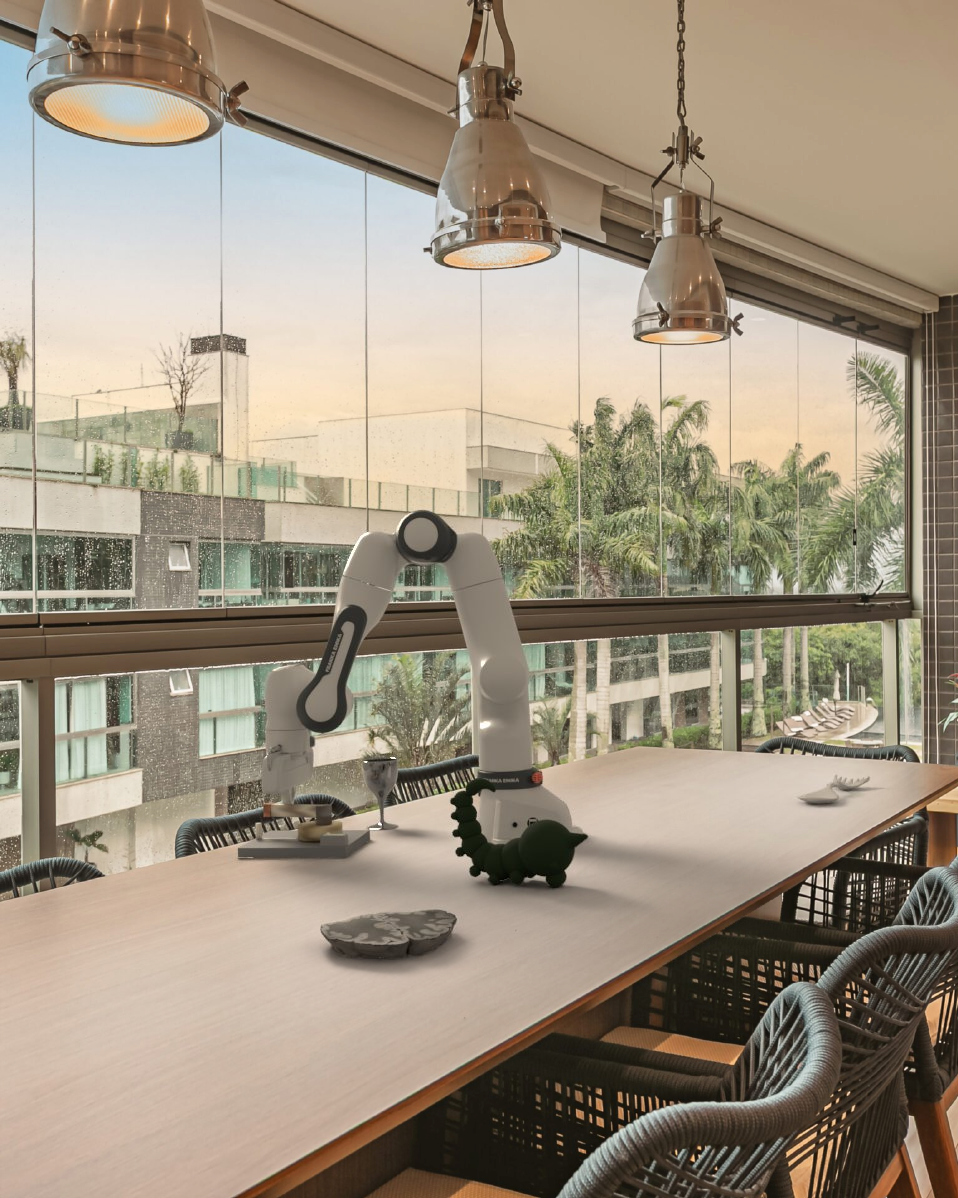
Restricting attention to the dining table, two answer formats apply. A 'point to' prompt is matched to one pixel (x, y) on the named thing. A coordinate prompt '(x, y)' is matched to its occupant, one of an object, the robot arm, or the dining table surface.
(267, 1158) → the dining table surface
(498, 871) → the toy figurine
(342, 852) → the stand
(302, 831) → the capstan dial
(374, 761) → the wine glass
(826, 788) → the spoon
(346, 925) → the brain slice
